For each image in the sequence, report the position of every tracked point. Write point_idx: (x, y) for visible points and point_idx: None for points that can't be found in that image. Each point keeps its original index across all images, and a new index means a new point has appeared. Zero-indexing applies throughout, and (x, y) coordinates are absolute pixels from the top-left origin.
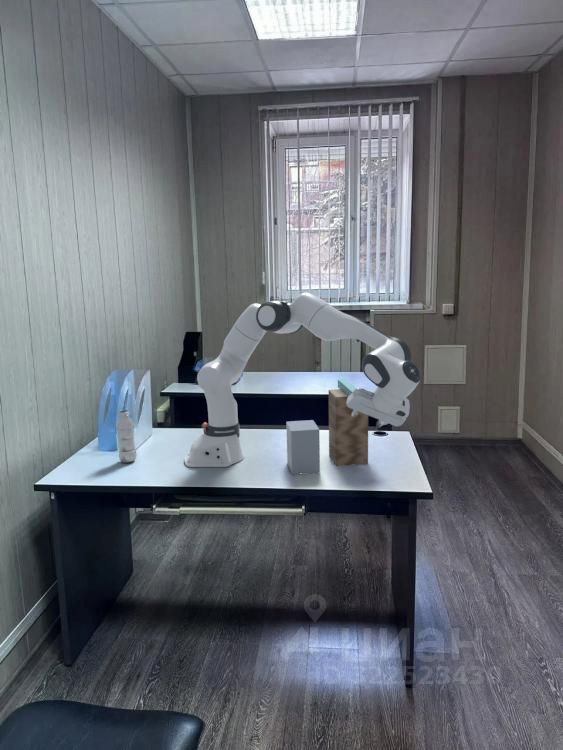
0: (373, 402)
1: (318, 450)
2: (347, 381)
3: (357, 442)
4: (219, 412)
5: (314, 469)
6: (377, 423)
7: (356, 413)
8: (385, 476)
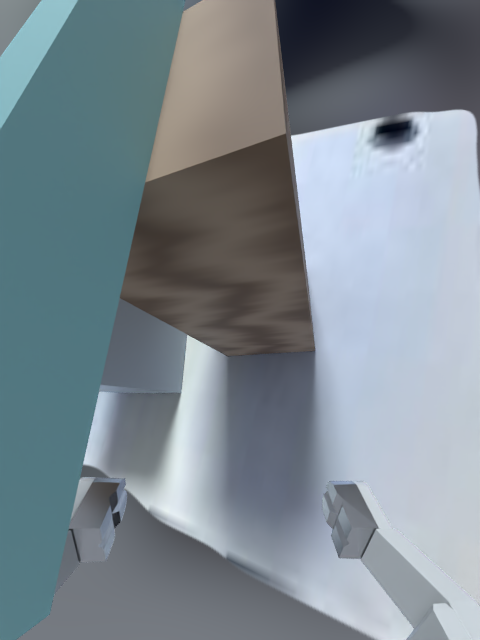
0: None
1: (137, 388)
2: None
3: (270, 334)
4: None
5: (164, 392)
6: (335, 508)
7: (88, 551)
8: (353, 468)
